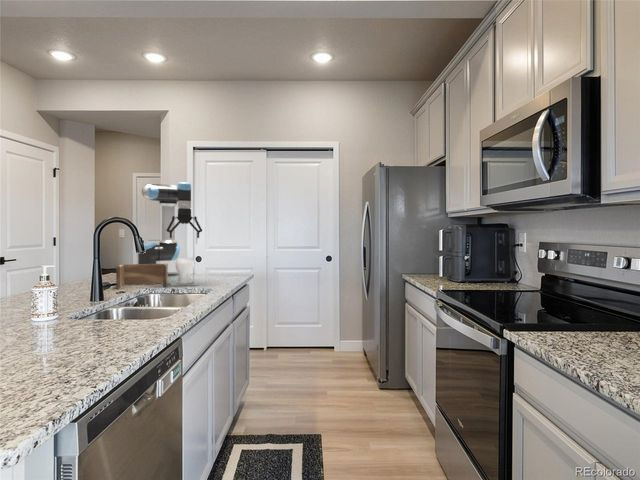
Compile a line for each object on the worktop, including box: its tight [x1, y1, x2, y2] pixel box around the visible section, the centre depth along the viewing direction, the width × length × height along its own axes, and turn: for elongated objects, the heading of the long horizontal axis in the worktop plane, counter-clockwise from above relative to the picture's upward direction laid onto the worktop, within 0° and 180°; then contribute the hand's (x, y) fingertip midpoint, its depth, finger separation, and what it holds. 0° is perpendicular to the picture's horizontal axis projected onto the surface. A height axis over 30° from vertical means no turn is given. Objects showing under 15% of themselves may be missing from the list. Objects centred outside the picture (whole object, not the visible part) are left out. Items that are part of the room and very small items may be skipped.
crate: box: [115, 263, 169, 290], centre depth 220 cm, size 17×26×13 cm, turn 109°
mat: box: [170, 280, 199, 287], centre depth 226 cm, size 15×15×1 cm
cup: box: [175, 257, 195, 284], centre depth 226 cm, size 11×11×15 cm
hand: (184, 243), depth 226 cm, fingers open, 13 cm apart
